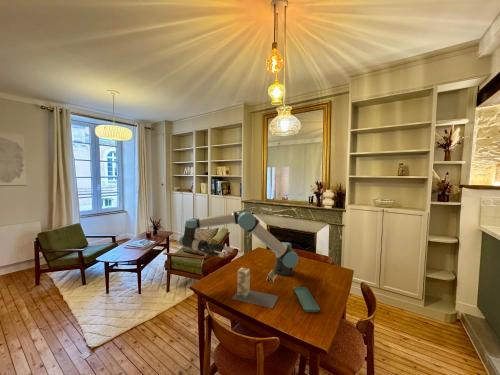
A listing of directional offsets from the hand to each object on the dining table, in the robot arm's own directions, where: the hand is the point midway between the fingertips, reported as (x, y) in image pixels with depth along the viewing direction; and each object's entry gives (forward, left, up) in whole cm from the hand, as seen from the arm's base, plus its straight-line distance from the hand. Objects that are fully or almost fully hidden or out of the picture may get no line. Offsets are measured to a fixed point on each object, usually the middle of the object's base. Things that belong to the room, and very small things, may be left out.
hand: (228, 252), depth 145 cm
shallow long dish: (-47, +17, -26) cm, 56 cm away
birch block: (-10, +7, -25) cm, 28 cm away
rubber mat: (-16, +11, -25) cm, 32 cm away
